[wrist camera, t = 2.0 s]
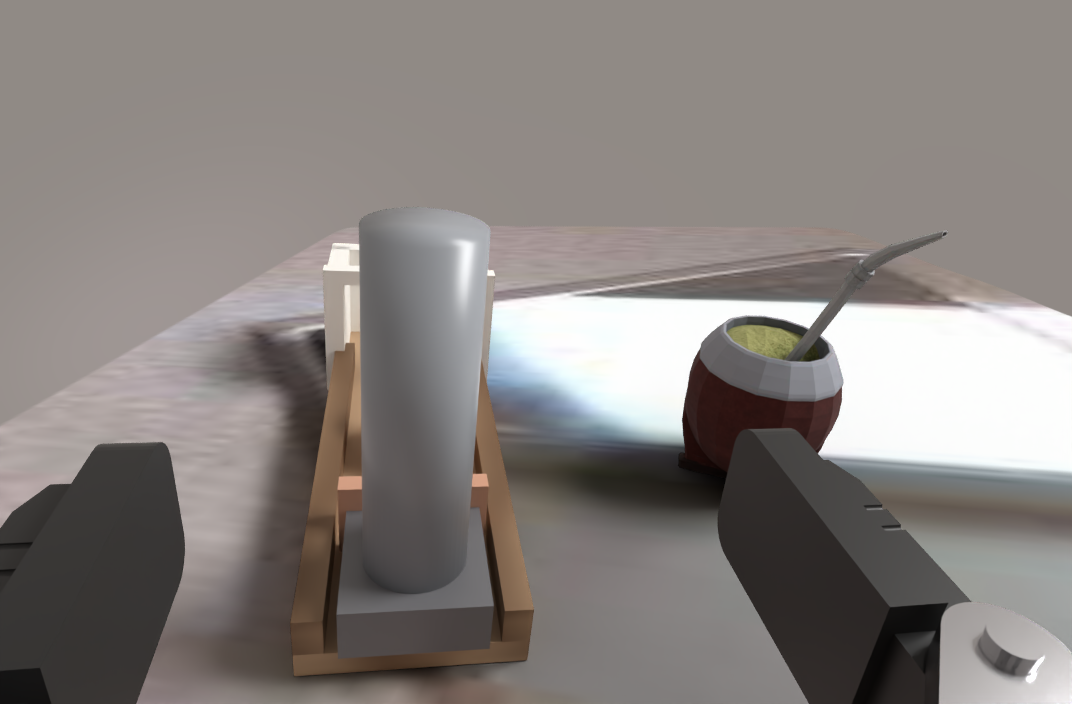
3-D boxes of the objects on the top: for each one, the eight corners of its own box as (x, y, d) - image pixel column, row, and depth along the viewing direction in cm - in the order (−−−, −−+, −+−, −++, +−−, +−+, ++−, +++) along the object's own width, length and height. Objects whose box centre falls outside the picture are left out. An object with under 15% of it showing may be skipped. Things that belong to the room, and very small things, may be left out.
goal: (326, 390, 41) (322, 270, 38) (335, 338, 47) (332, 230, 44) (486, 390, 43) (495, 275, 40) (475, 340, 48) (483, 236, 45)
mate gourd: (675, 427, 41) (734, 161, 35) (819, 458, 40) (910, 187, 33) (663, 507, 35) (733, 198, 28) (835, 547, 33) (951, 232, 27)
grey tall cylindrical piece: (328, 659, 24) (311, 253, 18) (340, 537, 29) (330, 188, 23) (498, 648, 25) (539, 262, 19) (481, 532, 30) (509, 198, 24)
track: (294, 676, 25) (290, 623, 24) (344, 335, 47) (343, 299, 46) (527, 660, 26) (533, 609, 25) (467, 337, 49) (469, 302, 48)
